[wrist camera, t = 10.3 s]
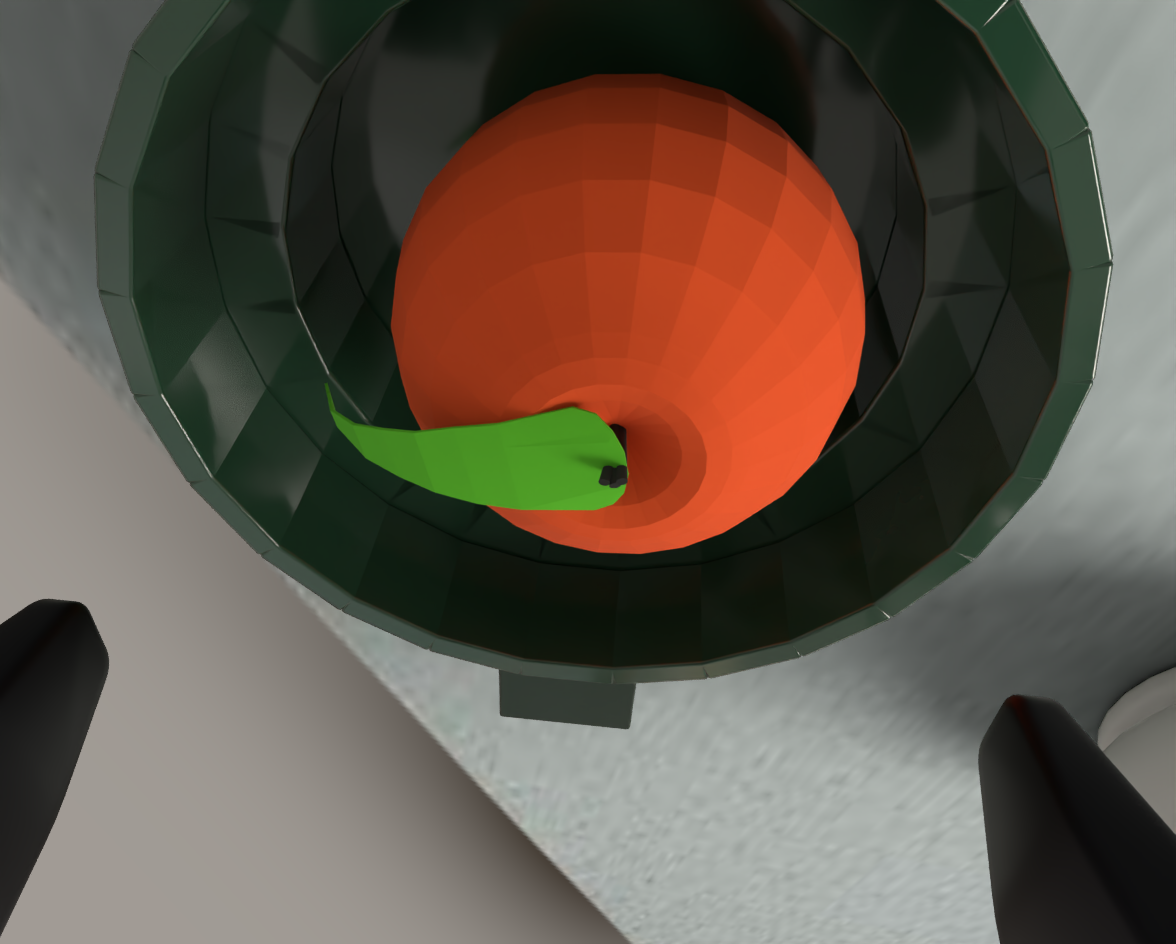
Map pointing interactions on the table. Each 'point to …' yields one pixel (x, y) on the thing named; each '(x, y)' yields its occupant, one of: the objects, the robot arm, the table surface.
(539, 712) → the colander handles
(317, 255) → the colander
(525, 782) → the table surface
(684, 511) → the clementine
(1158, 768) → the flower vase
